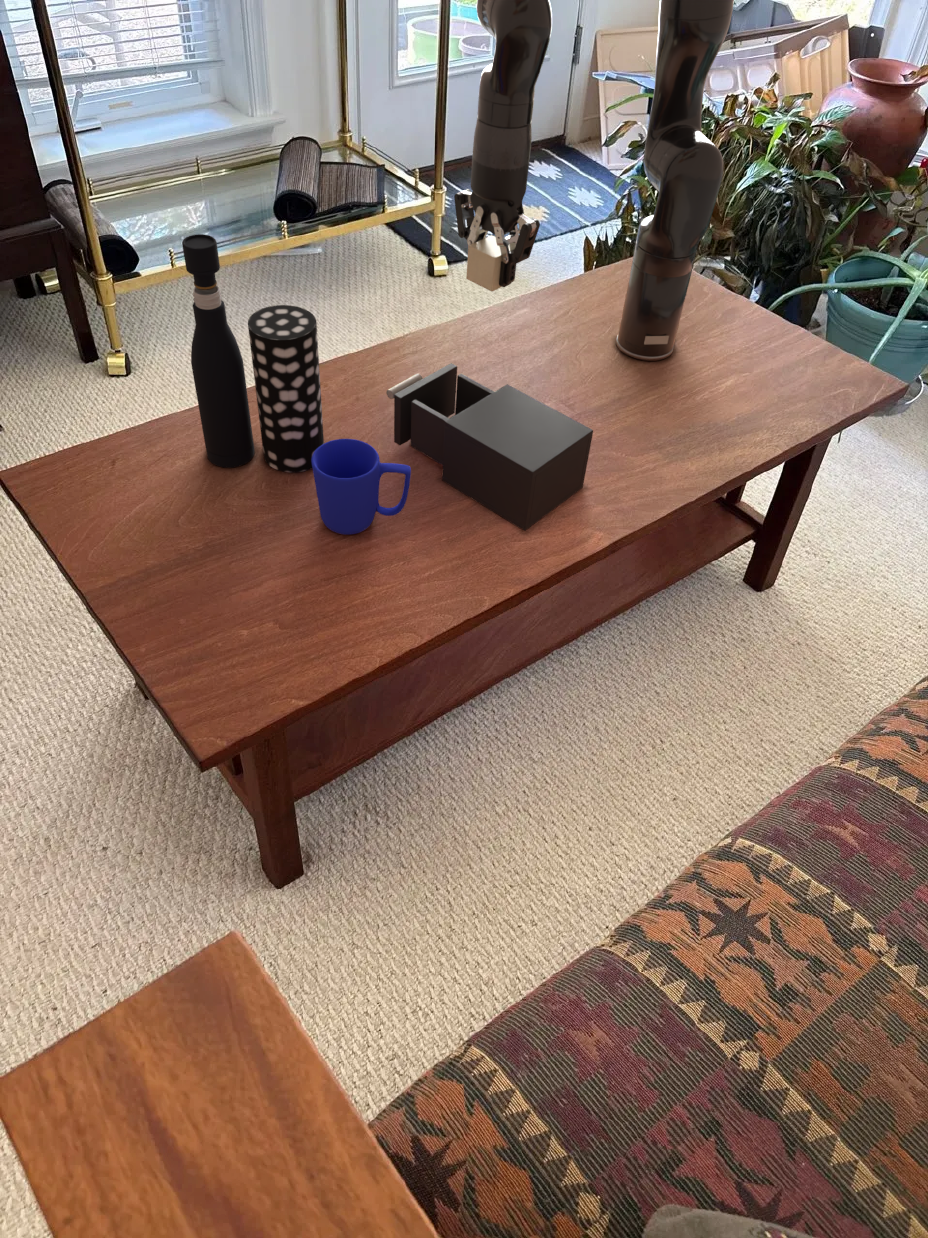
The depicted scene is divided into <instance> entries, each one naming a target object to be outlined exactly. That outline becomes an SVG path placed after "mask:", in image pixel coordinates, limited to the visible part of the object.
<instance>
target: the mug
mask: <svg viewBox="0 0 928 1238" xmlns="http://www.w3.org/2000/svg"><path fill="white" fill-rule="evenodd" d="M311 462H312V475H313V479H314V487H315V492H316V497H317V503H318V504H317V505H318V509H319V514H320V518H321V521H322V523H323V524H324V526H325V527H326V528H327V529H329V530H330V531H331V532H333V533H336V534H340V535H346V536H347V535H348V536H349V535H357V534H359V533H362V532H364V531H365V530H367V529H368V528H369V527H370V526H371V525H372V522H373V521H374V518H375V516H376V512H377V513H378V514H380V515H382V516H385V517H392V516H397V515H398V514H399V513H400V512H402V510H403V509H404V508H405V505H406V503H407V500H408V496H409V491H410V490H409V489H410V484H411V475H412V468H411V466H410V465H408V464H404V463H395V462H393V463H392V462H381V461H380V456H379V453H378V451H377V450H376V449H375V448H374V446H372V445H371V444H369V443H367V442H365V441H363V440H359V439H354V438H337V439H332V440H329V441H327V442H324V444H322V445H321V446H319V447H318V448H317V449H316V450H315V451H314V453H313V455H312V459H311ZM387 473H396V474H403V475H404V484H403V490H402V494H401V498H400V500H399V501H398V504H396V505H395V506H393V507H385V506H382V505H381V504H380V502H379V500H380V499H379V498H380V497H379V495H380V482H381V478H382V476H383V475H384V474H387Z"/></svg>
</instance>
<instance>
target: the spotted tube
mask: <svg viewBox="0 0 928 1238" xmlns="http://www.w3.org/2000/svg"><path fill="white" fill-rule="evenodd" d="M317 324H318V323H317V319H316V316H315V315H314V314H313V313H312V312H311V311H309V310H307V309H306V308H303V307H300V306H295V305H290V304H277V305H269V306H266V307H262V308H260V309H258V310H256V311H255V312H253V313H252V314H251V315H250V316H249V318H248V319H247V329H248V338H249V345H250V354H251V361H252V370H253V371H252V372H253V380H254V386H255V395H256V403H257V412H258V419H259V420H258V421H259V429H260V436H261V444H262V452H263V454H262V455H263V459H264V461H265V463H266V464H267V465H268V466H269V467H271V468H272V469H275V470H277V471H280V472H284V473H301V472H306V471H309V470H313V468H312V462H311V459H312V455H313V453H314V451H315V450H316V449H317V448H318V447H319V446H321V445H322V444H324V443H325V437H324V422H323V407H322V406H323V405H322V389H321V373H320V359H319V358H320V357H319V342H318V341H319V339H318V325H317Z"/></svg>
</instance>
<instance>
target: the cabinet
mask: <svg viewBox="0 0 928 1238" xmlns="http://www.w3.org/2000/svg"><path fill="white" fill-rule="evenodd" d="M454 415H455V414H454ZM454 415H453V416H454ZM451 417H452V416H451ZM451 417H449V418H450V419H449V420H447V421H445V432H444V452H443V465H442V474H441V475H442V476H441V481H443V482H444V483H446V484H447V485H449V486H451V487H452V488H454V489H456V490H457V491H458V492H460V493H462V494H464V495H465V496H467V497H469V498H470V499H472V500H474V501H475V502H477V503H479V504H480V505H481V506H483V507H485V508H486V509H488V510H490V511H491V512H493V513H494V514H496V515H498V516H499V517H501V518H503V519H504V520H506V521H508V522H509V523H511V524H512V525H514V526H516V527H517V528H519V529H520V530H522V531H524V532H526V531H527V530H528V529H529V528H531V527H532V526H534V525H535V524H537V523H538V522H539V521H541V520H542V519H543V518H544V517H545V516H548V514H550V513H551V512H553V511H554V510H556V508H558V507H559V506H560V505H562V504H563V503H564V502H566V501H567V500H568V499H570V498H571V497H572V496H574V495H575V494H577V493H578V492H579V491H580V490H582V489H583V487H584V482H585V477H586V472H587V466H588V461H589V456H590V452H591V445H592V441H593V434H594V429H592V428H590V427H589V426H586V424H583V423H581V422H580V421H578V420H575V419H574V418H572V417H570V416H568V415H566V414H564V413H562V412H561V411H559V410H557V409H555V408H553V407H551V406H549V405H548V404H545V403H544V402H542V401H540V400H538V399H537V398H535V397H533V396H531V395H528V394H527V393H525V392H523V391H521V390H520V389H517V388H515V387H514V386H512V385H510V384H509V383H506V384H505V385H504V386H501V387H500V388H499V389H496V390H494V392H493V393H492V394H490V395H488V396H487V397H485V398H483V399H482V400H480V401H479V402H477V403H475V404H474V405H472V406H470V407H469V408H467V409H465V410H464V411H462V412H460V413H459V414H457V415H455V416H454V417H452V418H451Z"/></svg>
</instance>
